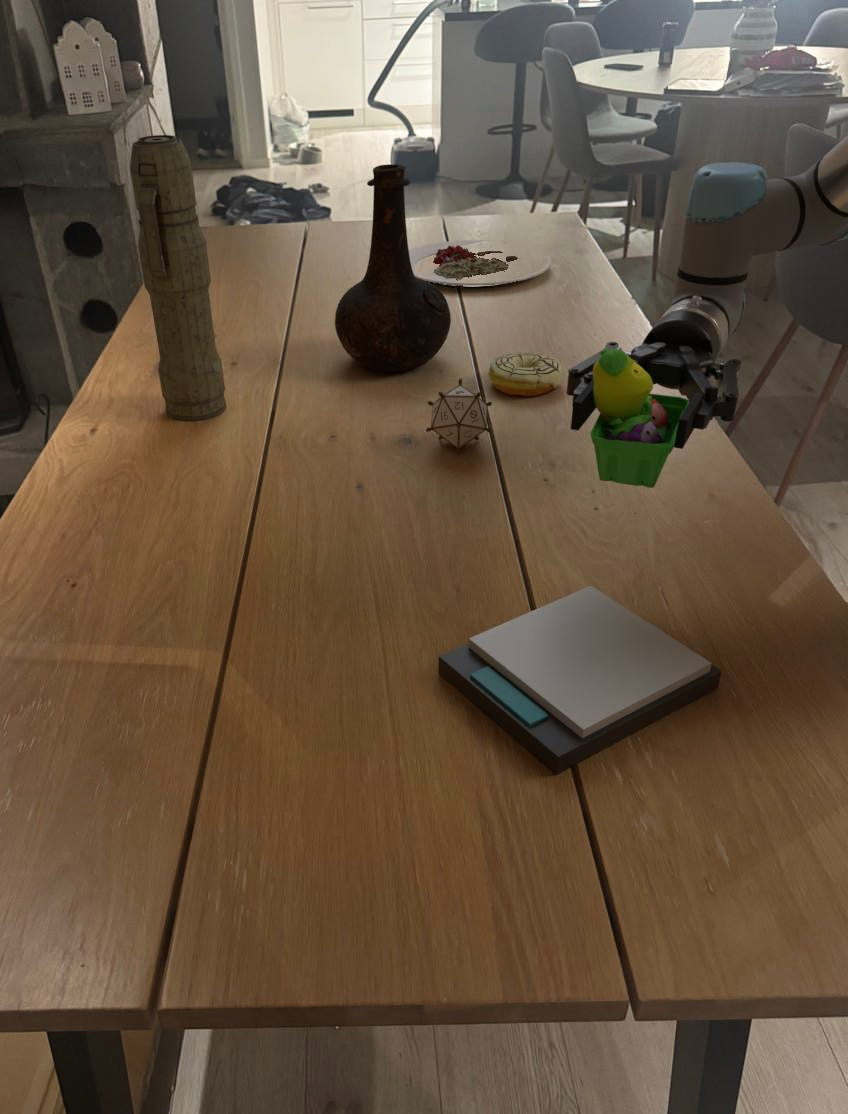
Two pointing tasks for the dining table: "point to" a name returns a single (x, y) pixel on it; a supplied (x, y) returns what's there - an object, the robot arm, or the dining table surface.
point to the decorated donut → (526, 374)
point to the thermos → (177, 278)
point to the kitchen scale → (576, 676)
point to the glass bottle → (391, 292)
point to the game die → (459, 416)
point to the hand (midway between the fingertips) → (627, 425)
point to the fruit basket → (631, 421)
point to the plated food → (462, 263)
